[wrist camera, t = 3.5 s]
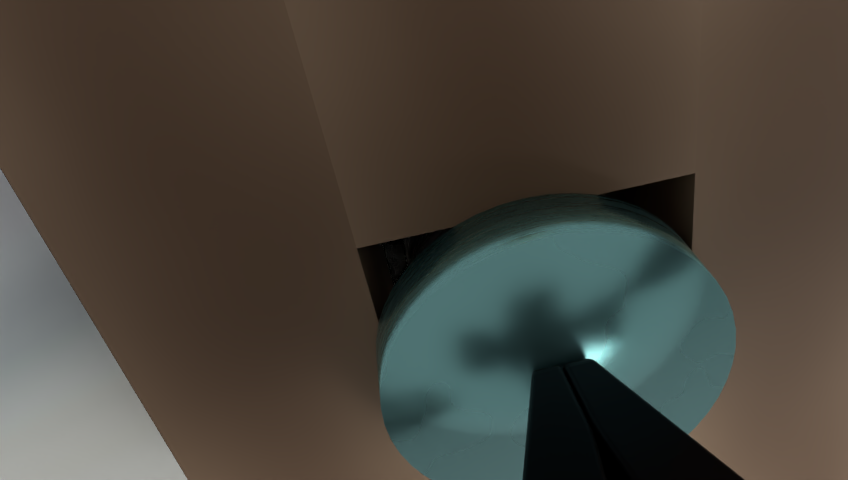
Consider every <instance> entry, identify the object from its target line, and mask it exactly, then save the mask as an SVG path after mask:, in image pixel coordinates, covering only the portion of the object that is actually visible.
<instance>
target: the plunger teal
mask: <svg viewBox="0 0 848 480" xmlns="http://www.w3.org/2000/svg"><path fill="white" fill-rule="evenodd" d="M404 244H405V250H406V256H407V262H408V267H407V268H406V269H405V271H404V272H403V273H402V275H401V276H400V278H399V279H398V281H397V282H396V284H395V285H394V287H393V288H392V290H391V292H390V294H389V297H388V299H387V301H386V303H385V305H384V307H383V311H382V314H381V317H380V320H379V324H378V331H377V338H376V356H377V369H378V381H379V393H380V405H381V411H382V416H383V420H384V425H385V427H386V429H387V432H388V434H389V436H390V439H391V441H392V442H393V444H394V445H395V447H396V448H397V450H398V451H399V453H400V454H401V455H402V456H403V457H404V458H405V459H406V460H407V461H408V463H409V464H410V465H411V466H413V467H414V468H415V469H416V470H418V471H419V472H420V473H422V474H423V475H424V476H426V477H428V478H429V479H431V480H522V479H523V467H524V456H525V445H526V433H527V422H528V410H529V399H530V387H531V377H532V373H533V371H535V370H538V369H542V368H547V367H551V366H557V365H558V366H560V367H561V368H562V369H563V366H564V365H565V364H566V363H570V362H574V361H579V360H583V359H593V360H595V361H596V362H597V363H599V364H600V365H601V366H602V367H604V368H605V369H606V370H607V371H609V372H610V373H611V374H612V375H614V376H615V377H616V378H617V379H619V380H620V381H621V382H622V383H624V384H625V385H626V386H628V387H629V388H630V389H631V390H633V391H634V392H635V393H636V394H638V395H639V396H640V397H641V398H643V399H644V400H645V401H646V402H648V403H649V404H650V405H651V406H653V407H654V408H655V409H656V410H658V411H659V412H660V413H662V414H663V415H664V416H665V417H667V418H668V419H669V420H670V421H672V422H673V423H674V424H675V425H677V426H678V427H679V428H680V429H682V430H683V431H684V432H685V433H687V434H689V433H690V432H691V431H692V430H693V429H694V428H695V427H696V426H697V425H698V424H699V423H700V422H701V420H702V419H703V418H704V417H705V416H706V414H707V413H708V412H709V410H710V409H711V408H712V406H713V405H714V403H715V402H716V400H717V399H718V397H719V395H720V393H721V391H722V389H723V387H724V385H725V383H726V381H727V379H728V376H729V373H730V370H731V367H732V364H733V359H734V354H735V348H736V327H735V321H734V316H733V311H732V309H731V306H730V304H729V301H728V298H727V296H726V295H725V293H724V291H723V290H722V288H721V287H720V285H719V283H718V282H717V280H716V279H715V278H714V277H713V276H712V274H711V273H710V272H709V271H708V270H707V268H706V267H705V266H704V265H703V264H702V262H701V261H700V260H699V259H698V257H697V256H696V255H695V254H694V253H693V251H692V250H691V249H690V248H689V247H688V245H687V244H686V243H685V242H684V241H683V239H682V238H681V237H680V236H679V235H678V234H677V233H676V232H675V231H674V230H673V229H672V228H671V227H670V226H669V225H668V224H666V223H665V222H664V221H663V220H661V219H660V218H659V217H657V216H656V215H654V214H652V213H650V212H649V211H647V210H645V209H643V208H641V207H639V206H637V205H634V204H631V203H628V202H626V201H623V200H620V199H616V198H611V197H607V196H602V195H596V194H582V193H559V194H546V195H539V196H533V197H527V198H523V199H519V200H515V201H512V202H508V203H505V204H501V205H498V206H496V207H494V208H491V209H489V210H486V211H484V212H481V213H479V214H476V215H475V216H473V217H471V218H469V219H467V220H465V221H464V222H462V223H460V224H458V225H456V226H455V227H451V228H446V229H442V230H437V231H433V232H428V233H424V234H419V235H415V236H411V237H406V238H404Z"/></svg>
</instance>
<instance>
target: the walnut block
mask: <svg viewBox="0 0 848 480" xmlns="http://www.w3.org/2000/svg"><path fill="white" fill-rule="evenodd" d="M0 169H1V170H2V172H3V173H4V175H5V177H6V178H7V180H8V182H9V183H10V185H11V187H12V188H13V190H14V192H15V193H16V195H17V197H18V198H19V200H20V202H21V203H22V205H23V207H24V208H25V210H26V212H27V213H28V215H29V217H30V218H31V220H32V222H33V223H34V225H35V227H36V228H37V230H38V232H39V233H40V235H41V237H42V238H43V240H44V242H45V243H46V245H47V247H48V248H49V250H50V251H51V253H52V255H53V256H54V258H55V260H56V261H57V263H58V265H59V266H60V268H61V270H62V271H63V273H64V275H65V276H66V278H67V280H68V281H69V283H70V285H71V286H72V288H73V290H74V291H75V293H76V295H77V296H78V298H79V300H80V301H81V303H82V305H83V306H84V308H85V310H86V311H87V313H88V315H89V316H90V318H91V320H92V321H93V323H94V325H95V326H96V328H97V330H98V331H99V333H100V334H101V336H102V338H103V339H104V341H105V343H106V344H107V346H108V348H109V349H110V351H111V353H112V354H113V356H114V358H115V359H116V361H117V363H118V364H119V366H120V368H121V369H122V371H123V373H124V374H125V376H126V378H127V379H128V381H129V383H130V384H131V386H132V388H133V389H134V391H135V393H136V394H137V396H138V398H139V399H140V401H141V403H142V404H143V406H144V408H145V409H146V411H147V413H148V414H149V416H150V417H151V419H152V421H153V422H154V424H155V426H156V427H157V429H158V431H159V432H160V434H161V436H162V437H163V439H164V441H165V442H166V444H167V446H168V447H169V449H170V451H171V452H172V454H173V456H174V457H175V459H176V461H177V462H178V464H179V466H180V467H181V469H182V471H183V472H184V474H185V476H186V477H187V479H188V480H431V479H429V478H428V477H426V476H424V475H423V474H422V473H420V472H419V471H418V470H416V469H415V468H414V467H413V466H411V465H410V464H409V463H408V461H407V460H406V459H405V458H404V457H403V456H402V455H401V454H400V453H399V451H398V450H397V448H396V447H395V445H394V444H393V442H392V441H391V439H390V436H389V434H388V432H387V429H386V427H385V425H384V420H383V416H382V411H381V405H380V393H379V381H378V369H377V356H376V338H377V331H378V324H379V320H380V317H381V314H382V311H383V307H384V305H385V303H386V301H387V299H388V297H389V294H390V292H391V290H392V288H393V287H394V286H393V282H392V279H391V275H390V271H389V267H388V264H387V260H386V256H385V252H384V249H383V245H382V243H384V242H388V241H393V240H397V239H402V238H406V237H411V236H415V235H419V234H424V233H428V232H433V231H437V230H442V229H446V228H451V227H455V226H456V225H458V224H460V223H462V222H464V221H465V220H467V219H469V218H471V217H473V216H475V215H476V214H479V213H481V212H484V211H486V210H489V209H491V208H494V207H496V206H498V205H501V204H505V203H508V202H512V201H515V200H519V199H523V198H527V197H533V196H539V195H546V194H559V193H582V194H596V195H602V196H607V197H611V198H616V199H620V200H623V201H626V202H628V203H631V204H634V205H637V206H639V207H641V208H643V209H645V210H647V211H649V212H650V213H652V214H654V215H656V216H657V217H659V218H660V219H661V220H663V221H664V222H665V223H666V224H668V225H669V226H670V227H671V228H672V229H673V230H674V231H675V232H676V233H677V234H678V235H679V236H680V237H681V238H682V239H683V241H684V242H685V243H686V244H687V245H688V247H689V248H690V249H691V250H692V251H693V253H694V254H695V255H696V256H697V257H698V259H699V260H700V261H701V262H702V264H703V265H704V266H705V267H706V268H707V270H708V271H709V272H710V273H711V274H712V276H713V277H714V278H715V279H716V280H717V282H718V283H719V285H720V287H721V288H722V290H723V291H724V293H725V295H726V296H727V298H728V301H729V304H730V306H731V309H732V311H733V316H734V321H735V327H736V348H735V354H734V359H733V364H732V367H731V370H730V373H729V376H728V379H727V381H726V383H725V385H724V387H723V389H722V391H721V393H720V395H719V397H718V399H717V400H716V402H715V403H714V405H713V406H712V408H711V409H710V410H709V412H708V413H707V414H706V416H705V417H704V418H703V419H702V420H701V422H700V423H699V424H698V425H697V426H696V427H695V428H694V429H693V430H692V431H691V432H690V433H689V434H688V435H689V436H691V437H692V438H693V439H694V440H696V441H697V442H698V443H699V444H701V445H702V446H703V447H704V448H706V449H707V450H708V451H709V452H711V453H712V454H713V455H714V456H716V457H717V458H718V459H719V460H721V461H722V462H723V463H725V464H726V465H727V466H728V467H730V468H731V469H732V470H733V471H735V472H736V473H737V474H738V475H740V476H741V477H742V478H743V479H745V480H848V0H0Z"/></svg>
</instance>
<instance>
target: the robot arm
mask: <svg viewBox="0 0 848 480" xmlns="http://www.w3.org/2000/svg"><path fill="white" fill-rule="evenodd" d="M522 480H745V479H743V478H742V477H741V476H740V475H738V474H737V473H736V472H735V471H733V470H732V469H731V468H730V467H728V466H727V465H726V464H725V463H723V462H722V461H721V460H719V459H718V458H717V457H716V456H714V455H713V454H712V453H711V452H709V451H708V450H707V449H706V448H704V447H703V446H702V445H701V444H699V443H698V442H697V441H696V440H694V439H693V438H692V437H691V436H689V435H688V434H687V433H685V432H684V431H683V430H682V429H680V428H679V427H678V426H677V425H675V424H674V423H673V422H672V421H670V420H669V419H668V418H667V417H665V416H664V415H663V414H662V413H660V412H659V411H658V410H656V409H655V408H654V407H653V406H651V405H650V404H649V403H648V402H646V401H645V400H644V399H643V398H641V397H640V396H639V395H638V394H636V393H635V392H634V391H633V390H631V389H630V388H629V387H628V386H626V385H625V384H624V383H622V382H621V381H620V380H619V379H617V378H616V377H615V376H614V375H612V374H611V373H610V372H609V371H607V370H606V369H605V368H604V367H602V366H601V365H600V364H599V363H597V362H596V361H595V360H593V359H583V360H579V361H574V362H570V363H566V364H565V365H564V366H563V369H562V368H561V367H560V366H558V365H557V366H551V367H547V368H542V369H538V370H535V371H533V373H532V377H531V387H530V399H529V410H528V422H527V433H526V445H525V456H524V467H523V479H522Z"/></svg>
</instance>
